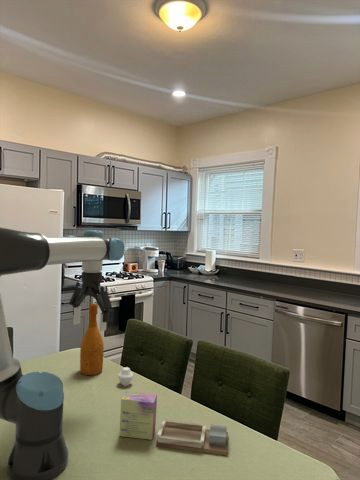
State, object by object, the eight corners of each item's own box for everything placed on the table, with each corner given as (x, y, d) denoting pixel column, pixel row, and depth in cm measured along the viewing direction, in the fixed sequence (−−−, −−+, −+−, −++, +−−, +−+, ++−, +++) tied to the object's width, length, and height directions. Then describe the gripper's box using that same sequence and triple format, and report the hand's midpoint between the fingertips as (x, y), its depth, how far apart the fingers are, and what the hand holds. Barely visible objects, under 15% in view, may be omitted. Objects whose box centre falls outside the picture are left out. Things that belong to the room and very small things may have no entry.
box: (155, 429, 115) (157, 393, 115) (152, 440, 110) (154, 402, 109) (123, 426, 116) (125, 390, 116) (119, 436, 111) (120, 399, 110)
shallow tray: (227, 455, 104) (227, 441, 104) (156, 445, 107) (156, 432, 107) (227, 435, 114) (228, 422, 113) (162, 427, 117) (163, 414, 117)
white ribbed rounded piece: (130, 388, 143) (131, 371, 143) (115, 386, 144) (116, 369, 144) (134, 381, 149) (135, 365, 149) (120, 380, 150) (121, 363, 150)
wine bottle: (107, 370, 159) (109, 303, 157) (91, 378, 150) (93, 307, 149) (91, 365, 164) (93, 300, 163) (74, 372, 156) (77, 303, 154)
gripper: (124, 274, 132) (121, 331, 133) (76, 267, 145) (74, 319, 145) (110, 275, 126) (107, 335, 126) (61, 268, 138) (59, 323, 139)
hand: (89, 327), depth 136 cm, fingers open, 13 cm apart
